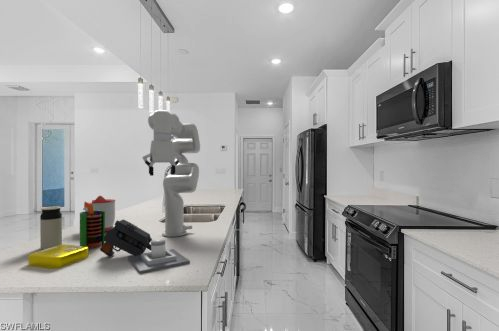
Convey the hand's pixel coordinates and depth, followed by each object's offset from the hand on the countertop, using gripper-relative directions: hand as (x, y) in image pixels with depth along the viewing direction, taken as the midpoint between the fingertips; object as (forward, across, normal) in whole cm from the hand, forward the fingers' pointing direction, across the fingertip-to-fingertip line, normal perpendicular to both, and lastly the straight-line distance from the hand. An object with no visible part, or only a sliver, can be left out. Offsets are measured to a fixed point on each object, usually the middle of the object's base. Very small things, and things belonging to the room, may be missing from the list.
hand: (162, 175), depth 131 cm
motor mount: (+32, +8, +20) cm, 39 cm away
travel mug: (+32, +42, -27) cm, 60 cm away
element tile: (+33, +39, -3) cm, 51 cm away
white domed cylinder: (+31, +8, +20) cm, 38 cm away
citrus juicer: (+32, +20, -51) cm, 64 cm away
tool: (+33, +16, +6) cm, 37 cm away
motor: (+32, +27, -18) cm, 46 cm away
